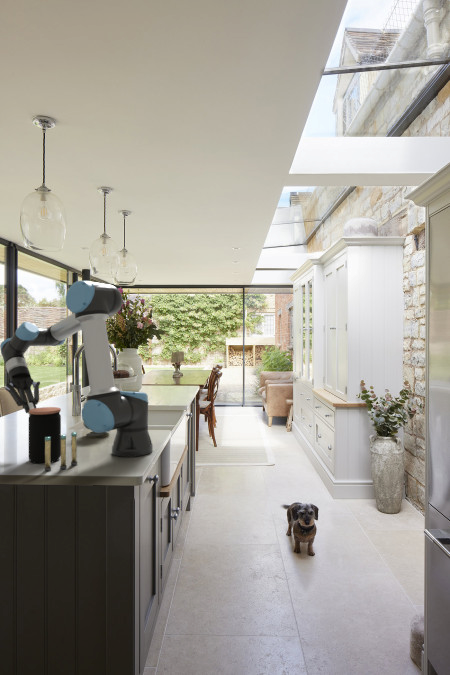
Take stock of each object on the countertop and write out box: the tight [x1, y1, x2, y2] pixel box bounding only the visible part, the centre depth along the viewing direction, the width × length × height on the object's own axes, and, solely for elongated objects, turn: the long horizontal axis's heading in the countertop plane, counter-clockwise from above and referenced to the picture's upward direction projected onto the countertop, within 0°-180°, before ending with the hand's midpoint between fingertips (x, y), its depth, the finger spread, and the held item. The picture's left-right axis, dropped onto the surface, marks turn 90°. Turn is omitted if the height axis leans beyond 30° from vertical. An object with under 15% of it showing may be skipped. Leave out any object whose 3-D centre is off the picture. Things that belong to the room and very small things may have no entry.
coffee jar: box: [28, 406, 62, 465], centre depth 155 cm, size 11×11×18 cm
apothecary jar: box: [83, 399, 110, 439], centre depth 194 cm, size 12×12×18 cm
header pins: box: [44, 431, 78, 472], centre depth 145 cm, size 4×11×11 cm, turn 135°
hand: (33, 418), depth 162 cm, fingers closed
